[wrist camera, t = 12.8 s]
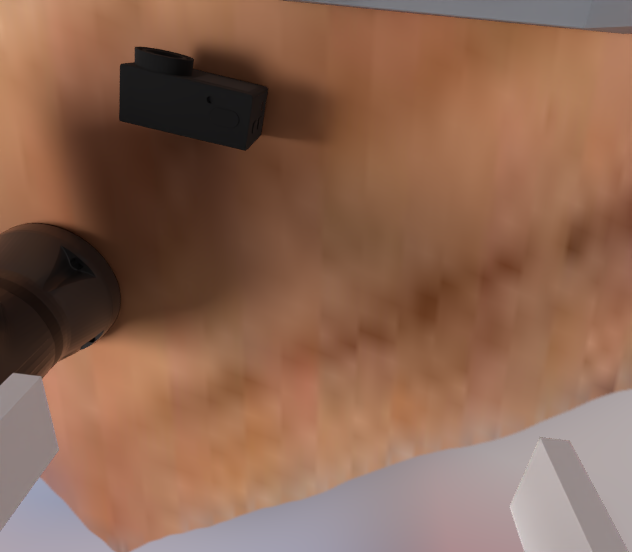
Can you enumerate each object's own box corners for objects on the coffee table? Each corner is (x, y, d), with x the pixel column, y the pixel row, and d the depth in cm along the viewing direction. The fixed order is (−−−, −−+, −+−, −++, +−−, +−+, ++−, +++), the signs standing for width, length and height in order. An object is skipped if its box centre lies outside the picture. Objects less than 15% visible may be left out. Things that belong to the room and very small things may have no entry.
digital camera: (272, 73, 40) (257, 79, 34) (262, 135, 43) (246, 151, 37) (155, 44, 40) (119, 46, 34) (152, 109, 43) (118, 120, 36)
